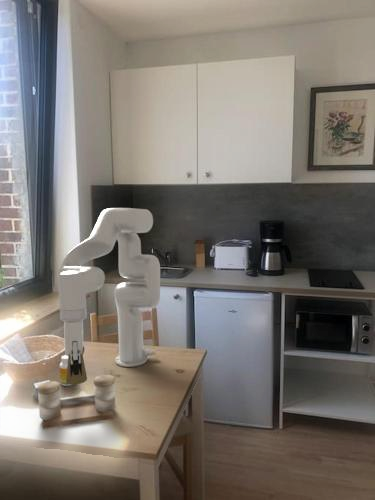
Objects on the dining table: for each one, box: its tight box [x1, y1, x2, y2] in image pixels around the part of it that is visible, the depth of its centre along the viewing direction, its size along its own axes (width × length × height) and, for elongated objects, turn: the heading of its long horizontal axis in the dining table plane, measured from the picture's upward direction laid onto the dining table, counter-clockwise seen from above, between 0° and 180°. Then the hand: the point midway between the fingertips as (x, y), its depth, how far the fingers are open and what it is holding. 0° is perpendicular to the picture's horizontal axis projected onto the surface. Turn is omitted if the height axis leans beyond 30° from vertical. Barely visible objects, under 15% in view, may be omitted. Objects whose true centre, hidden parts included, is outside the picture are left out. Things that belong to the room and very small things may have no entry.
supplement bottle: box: [59, 354, 73, 387], centre depth 150 cm, size 5×5×10 cm
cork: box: [66, 344, 88, 386], centre depth 126 cm, size 6×6×11 cm
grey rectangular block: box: [33, 379, 50, 400], centre depth 142 cm, size 5×4×4 cm
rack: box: [38, 374, 116, 429], centre depth 129 cm, size 22×10×10 cm, turn 105°
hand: (76, 372), depth 127 cm, fingers closed on cork, 3 cm apart
